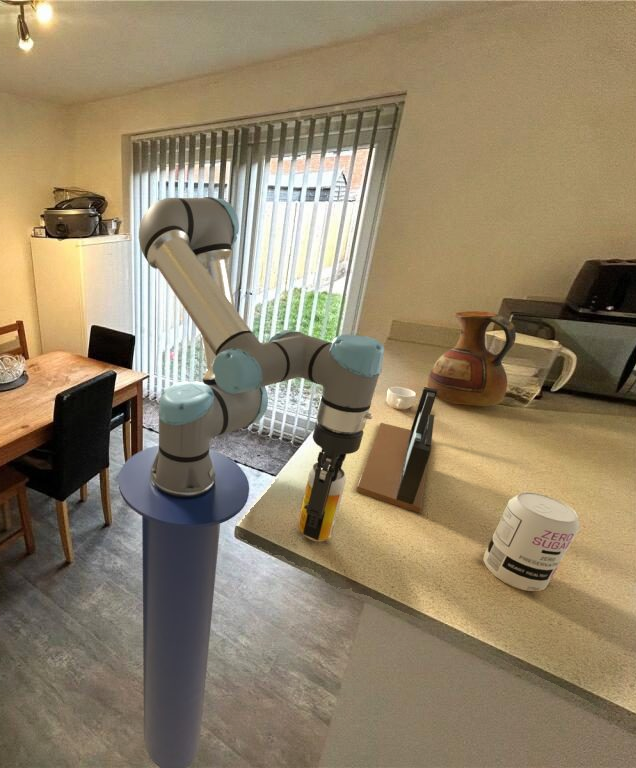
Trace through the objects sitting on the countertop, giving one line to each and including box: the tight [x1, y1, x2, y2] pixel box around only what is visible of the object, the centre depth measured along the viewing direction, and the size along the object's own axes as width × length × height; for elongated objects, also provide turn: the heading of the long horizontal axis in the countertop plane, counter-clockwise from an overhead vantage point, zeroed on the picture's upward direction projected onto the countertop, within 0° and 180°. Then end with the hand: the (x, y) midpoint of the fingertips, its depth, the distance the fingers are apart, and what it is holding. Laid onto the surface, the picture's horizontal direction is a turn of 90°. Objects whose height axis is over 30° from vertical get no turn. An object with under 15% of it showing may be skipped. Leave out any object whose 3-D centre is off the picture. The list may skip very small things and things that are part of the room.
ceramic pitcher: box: [427, 310, 517, 407], centre depth 125 cm, size 20×20×30 cm
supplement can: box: [483, 491, 581, 592], centre depth 66 cm, size 8×8×15 cm
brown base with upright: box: [355, 386, 438, 514], centre depth 97 cm, size 12×37×15 cm, turn 142°
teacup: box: [386, 386, 417, 410], centre depth 126 cm, size 10×8×5 cm
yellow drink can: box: [297, 462, 347, 542], centre depth 75 cm, size 6×6×15 cm
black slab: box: [402, 392, 435, 478], centre depth 89 cm, size 1×16×20 cm, turn 142°
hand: (315, 525), depth 77 cm, fingers closed on yellow drink can, 6 cm apart
